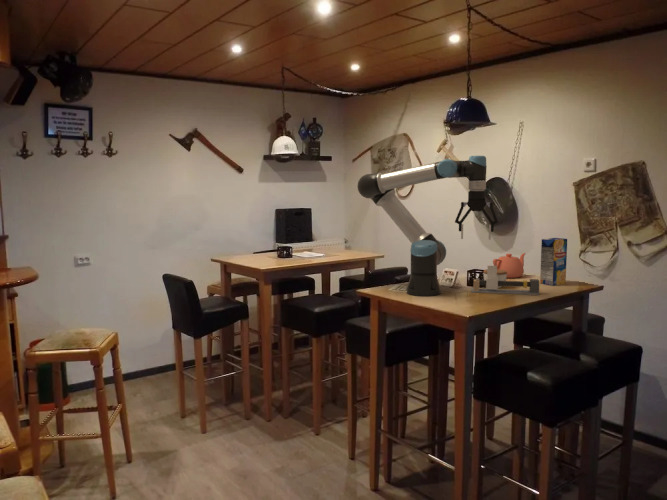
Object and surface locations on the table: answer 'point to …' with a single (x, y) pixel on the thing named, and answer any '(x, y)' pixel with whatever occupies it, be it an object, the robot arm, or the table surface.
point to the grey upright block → (492, 278)
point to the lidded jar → (498, 275)
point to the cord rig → (532, 284)
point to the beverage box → (553, 261)
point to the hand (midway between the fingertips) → (475, 238)
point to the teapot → (510, 265)
